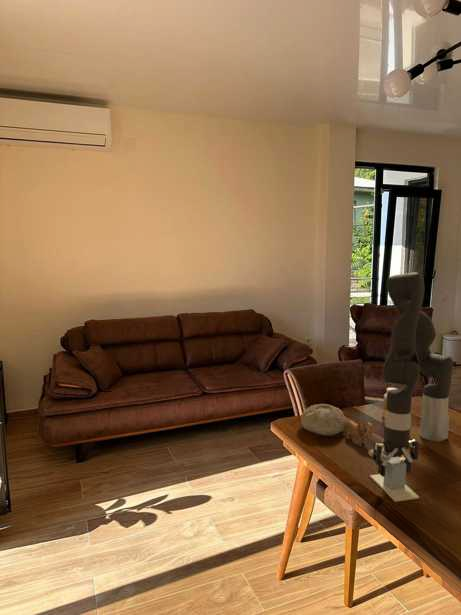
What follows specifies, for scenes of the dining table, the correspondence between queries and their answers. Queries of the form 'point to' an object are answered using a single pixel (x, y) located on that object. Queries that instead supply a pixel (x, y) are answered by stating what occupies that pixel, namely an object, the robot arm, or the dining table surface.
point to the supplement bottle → (386, 400)
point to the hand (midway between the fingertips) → (394, 473)
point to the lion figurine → (359, 430)
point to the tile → (395, 494)
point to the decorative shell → (323, 419)
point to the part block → (395, 473)
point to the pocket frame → (386, 453)
